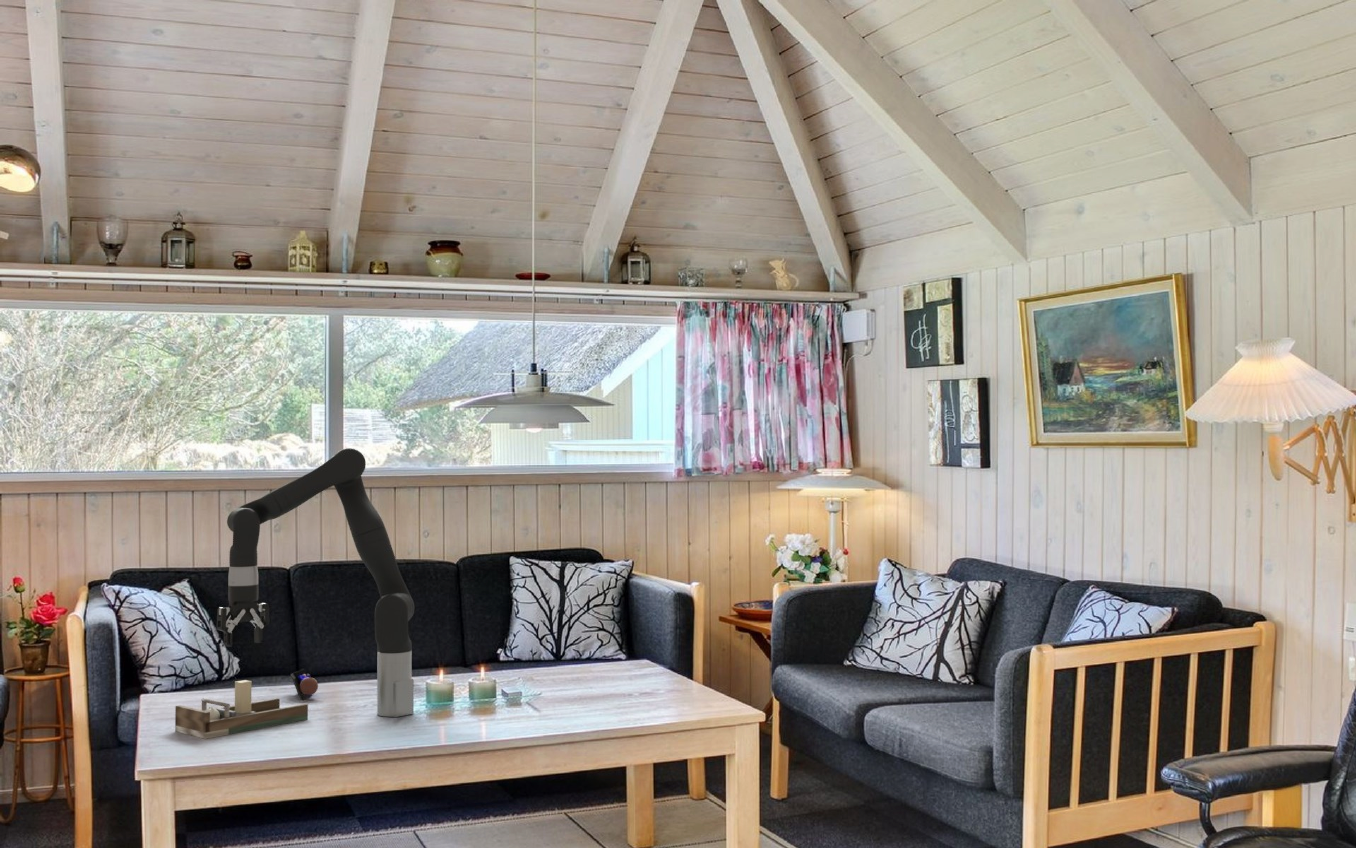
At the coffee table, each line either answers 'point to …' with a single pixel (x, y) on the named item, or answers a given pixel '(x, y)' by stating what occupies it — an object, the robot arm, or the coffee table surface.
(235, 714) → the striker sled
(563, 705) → the coffee table surface
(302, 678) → the character figurine
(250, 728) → the channel
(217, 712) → the ball
